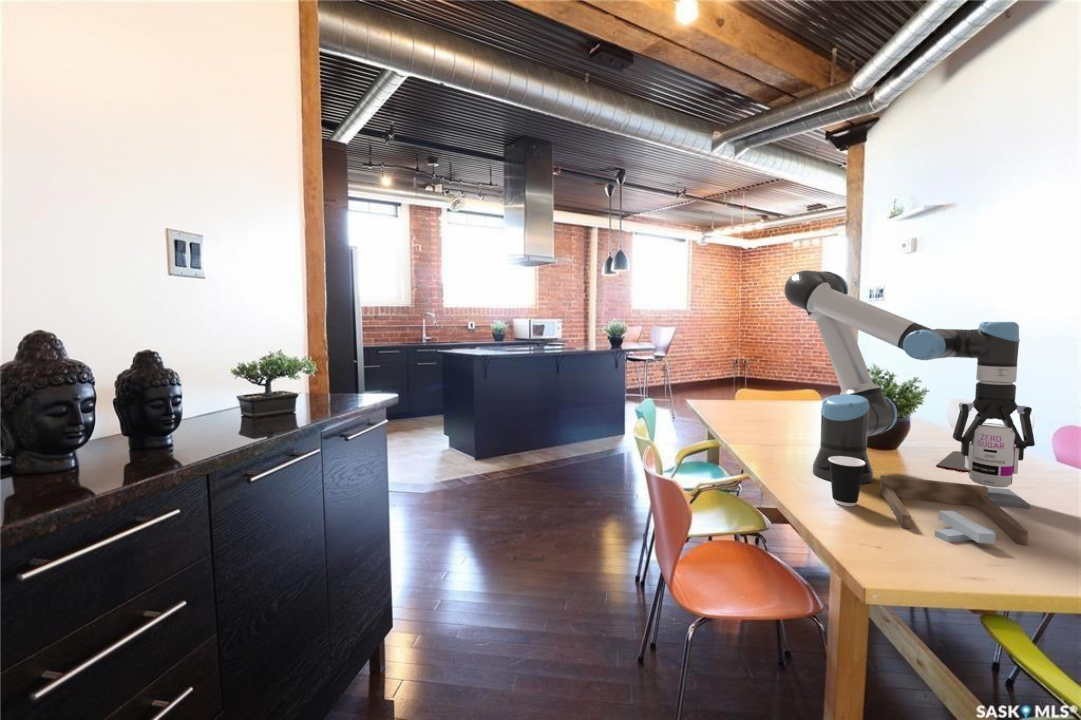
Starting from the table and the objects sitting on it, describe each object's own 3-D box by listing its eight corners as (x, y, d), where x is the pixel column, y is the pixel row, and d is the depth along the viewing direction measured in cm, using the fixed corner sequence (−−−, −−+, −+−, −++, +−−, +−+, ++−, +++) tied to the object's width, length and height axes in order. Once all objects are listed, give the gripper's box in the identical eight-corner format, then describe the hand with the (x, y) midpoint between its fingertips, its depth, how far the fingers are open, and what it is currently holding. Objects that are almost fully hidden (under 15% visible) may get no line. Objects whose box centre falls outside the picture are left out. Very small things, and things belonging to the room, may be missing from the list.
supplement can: (1000, 479, 130) (1004, 423, 129) (1019, 489, 122) (1022, 429, 121) (962, 476, 133) (966, 421, 132) (978, 486, 125) (981, 427, 124)
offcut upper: (995, 543, 99) (995, 533, 99) (978, 542, 99) (979, 533, 99) (953, 519, 111) (953, 511, 111) (938, 519, 111) (939, 510, 111)
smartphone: (934, 464, 154) (952, 450, 170) (934, 469, 154) (952, 454, 170) (986, 474, 145) (1001, 457, 161) (986, 479, 145) (1000, 462, 161)
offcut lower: (948, 545, 103) (949, 536, 102) (934, 539, 106) (935, 530, 105) (995, 540, 105) (996, 531, 105) (980, 534, 108) (980, 525, 108)
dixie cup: (871, 508, 121) (873, 464, 120) (839, 509, 120) (841, 465, 120) (849, 497, 129) (851, 455, 128) (819, 498, 128) (821, 456, 127)
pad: (966, 501, 125) (967, 497, 125) (951, 486, 136) (951, 483, 136) (1029, 508, 120) (1030, 504, 120) (1008, 492, 131) (1009, 489, 131)
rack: (900, 527, 110) (901, 505, 109) (879, 493, 131) (880, 475, 131) (1028, 545, 101) (1030, 521, 100) (984, 505, 122) (985, 486, 122)
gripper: (948, 382, 127) (943, 469, 129) (1059, 386, 118) (1052, 479, 120) (939, 379, 134) (935, 462, 135) (1044, 382, 125) (1037, 471, 126)
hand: (990, 470), depth 127 cm, fingers closed on supplement can, 8 cm apart
